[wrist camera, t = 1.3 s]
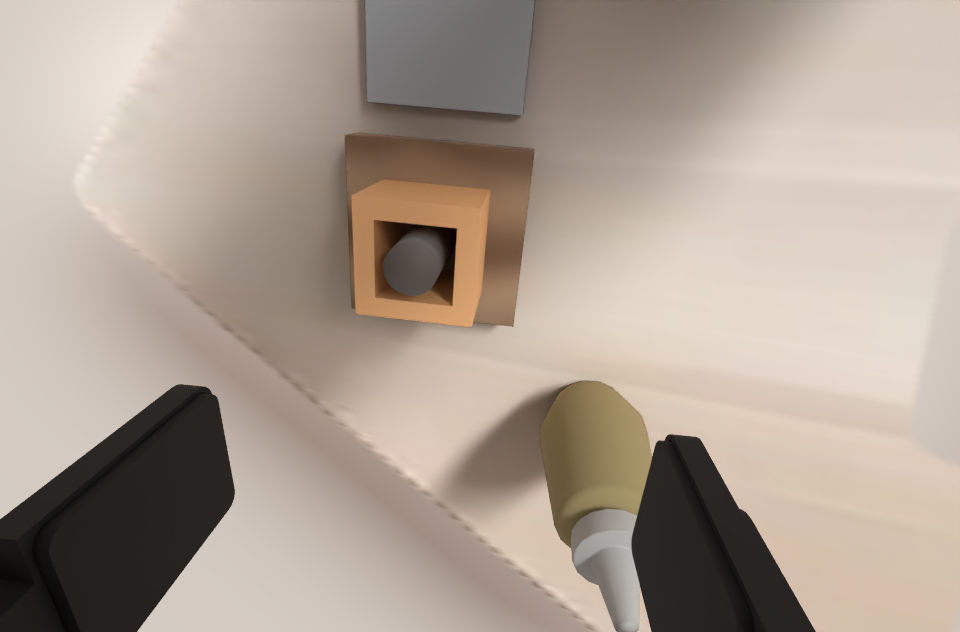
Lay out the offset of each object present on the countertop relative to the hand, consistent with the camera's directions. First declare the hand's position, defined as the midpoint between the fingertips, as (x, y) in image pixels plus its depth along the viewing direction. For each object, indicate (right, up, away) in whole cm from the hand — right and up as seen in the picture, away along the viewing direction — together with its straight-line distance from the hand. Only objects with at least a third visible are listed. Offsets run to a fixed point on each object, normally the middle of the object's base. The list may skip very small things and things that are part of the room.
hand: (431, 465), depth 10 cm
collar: (-2, +9, +22) cm, 23 cm away
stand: (-2, +10, +24) cm, 26 cm away
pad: (-1, +21, +19) cm, 28 cm away
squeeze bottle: (+10, -4, +29) cm, 31 cm away
